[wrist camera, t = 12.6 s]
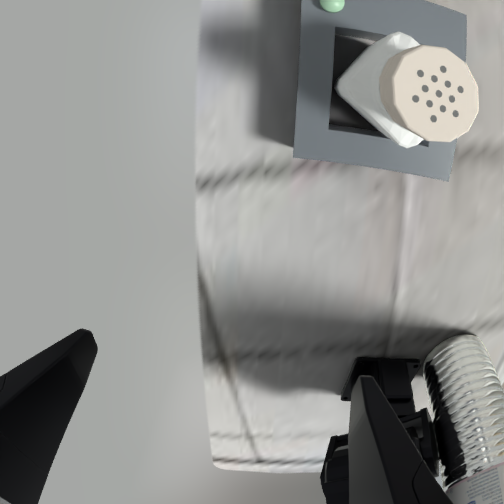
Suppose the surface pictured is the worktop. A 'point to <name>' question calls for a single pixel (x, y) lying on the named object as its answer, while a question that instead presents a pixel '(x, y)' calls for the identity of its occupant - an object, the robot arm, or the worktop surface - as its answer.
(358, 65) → the pepper shaker
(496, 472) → the water bottle
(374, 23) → the socket dock
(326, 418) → the worktop surface
